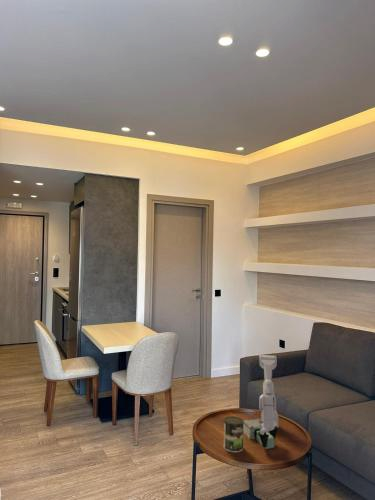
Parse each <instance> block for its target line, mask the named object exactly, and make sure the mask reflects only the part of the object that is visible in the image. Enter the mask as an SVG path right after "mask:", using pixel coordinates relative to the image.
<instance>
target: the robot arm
mask: <svg viewBox="0 0 375 500" xmlns="http://www.w3.org/2000/svg"><path fill="white" fill-rule="evenodd" d="M258 360H259V366H260V368H262V370H263V375H264V376H263V377H264V378H263V382H262V394H261V395H260V396H259V401H258V402H259V403H258V404H259V405H258V408H259V410H260V411H261V412H260V413H261V414H260V415H261V418H260V419H261V420H262V421H263V424H261V426H262V428H261V430H260V431H259V432H258V435H259V437H260V439H261V442H262V445H261V446H262V448H264V447H265V448H266V447H267V441H268V437H269V435H267V434H266V432H267V431H268V433H269V434H270V435H272V436H273V437H274V442H275V441H276V438H277V434H278V431H279V429H280V428H279V413H278V411H277V399H276V396H275V388H274V387H275V385H274V382H273V381H272V377H273V370H275V369H276V367H277V363H278V360H277V356H276V355H269V354H267V355H266V354H265V355H264V354H260V355H259V359H258ZM265 448H264V449H265Z"/></svg>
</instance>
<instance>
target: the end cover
mask: <svg viewBox="0 0 375 500" xmlns="http://www.w3.org/2000/svg"><path fill="white" fill-rule="evenodd" d="M258 432H259V431H257V432H256V441H257V442H258V443H259V444H260V445H261V446H262V442H261V439H260V437H259V435H258ZM266 434H267V435H269V437H268V441H267V447H266V448H265V447H263V449H266V450H268V449H273V448H275V441H274V437H273V436H272V435H270V433H269V432H268V433H266Z"/></svg>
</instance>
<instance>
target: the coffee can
mask: <svg viewBox="0 0 375 500" xmlns="http://www.w3.org/2000/svg"><path fill="white" fill-rule="evenodd" d="M243 420H244V419H243V418H241V417H239V416H227V417H225V418H224V419H223V449H224V450H225V451H226V452H229V453H241V452H242V451H243V450H244V433H243V423H244V421H243Z"/></svg>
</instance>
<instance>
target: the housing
mask: <svg viewBox="0 0 375 500" xmlns="http://www.w3.org/2000/svg"><path fill="white" fill-rule="evenodd" d="M243 421H244V423H243V435H245V436H246V438H248V439H249V440H255V437H256V435H255V432H256V433H257V431H260V430H261V428H262V426H261V424H263V421H262V420H261V418H254V419H245V420H244V419H243ZM266 433H269V431H267V432H266Z"/></svg>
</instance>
